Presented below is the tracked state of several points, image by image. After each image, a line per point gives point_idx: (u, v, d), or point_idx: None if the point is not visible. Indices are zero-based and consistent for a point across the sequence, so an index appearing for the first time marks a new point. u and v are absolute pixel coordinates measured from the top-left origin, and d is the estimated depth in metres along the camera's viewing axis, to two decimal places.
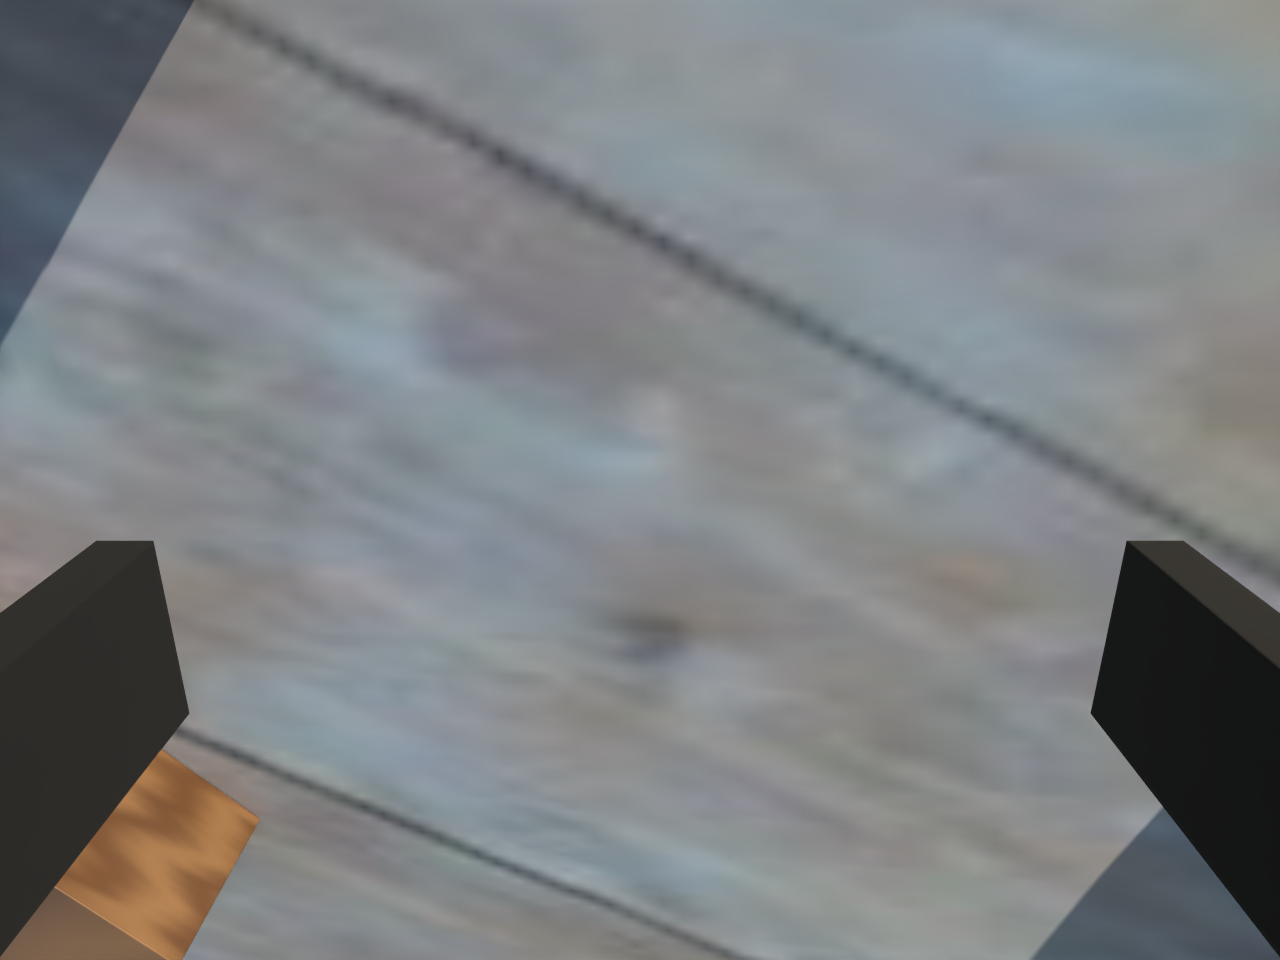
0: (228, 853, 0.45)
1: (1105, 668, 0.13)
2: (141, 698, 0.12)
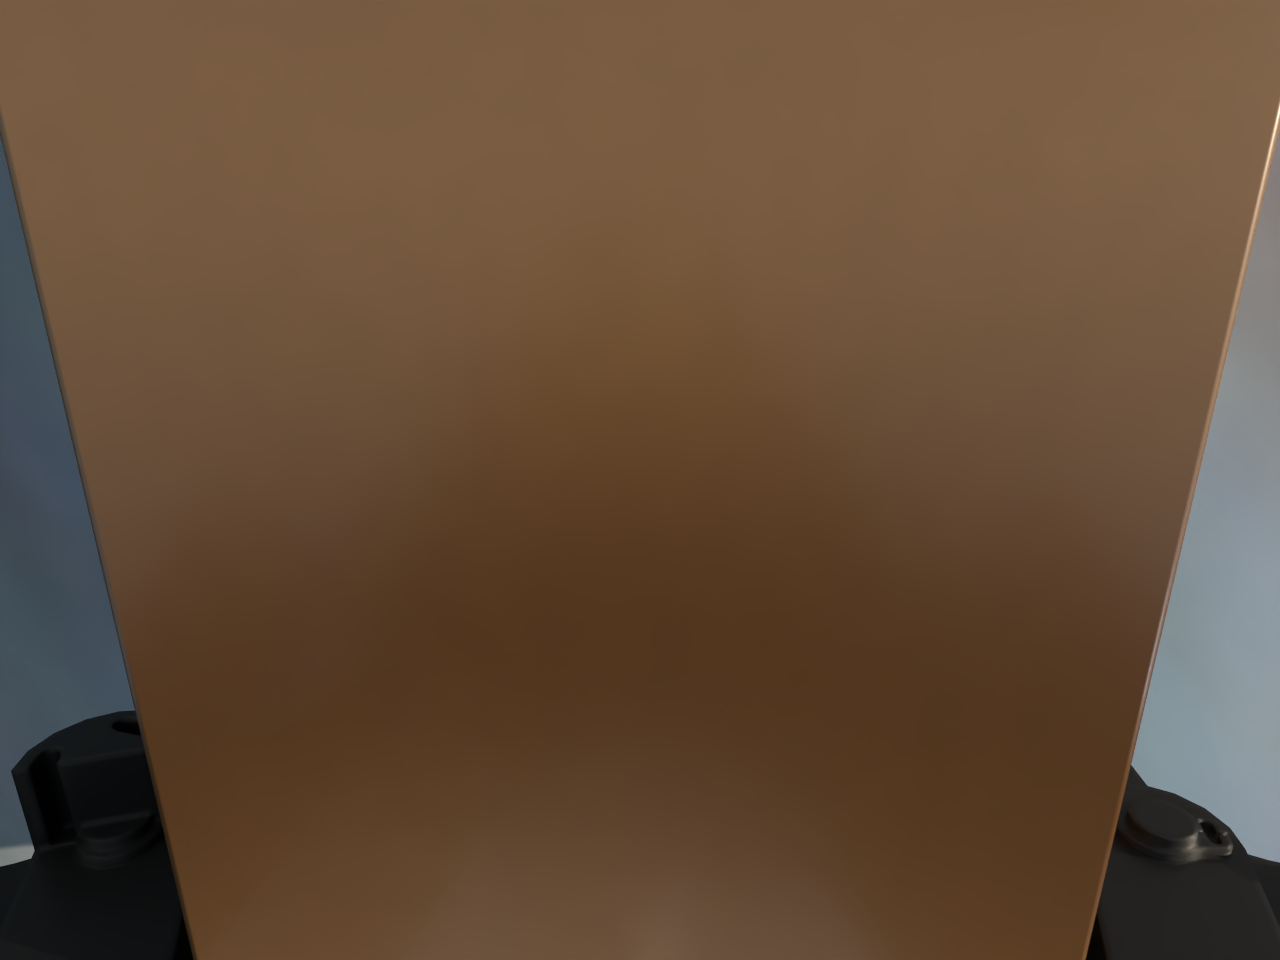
0: None
1: None
2: None
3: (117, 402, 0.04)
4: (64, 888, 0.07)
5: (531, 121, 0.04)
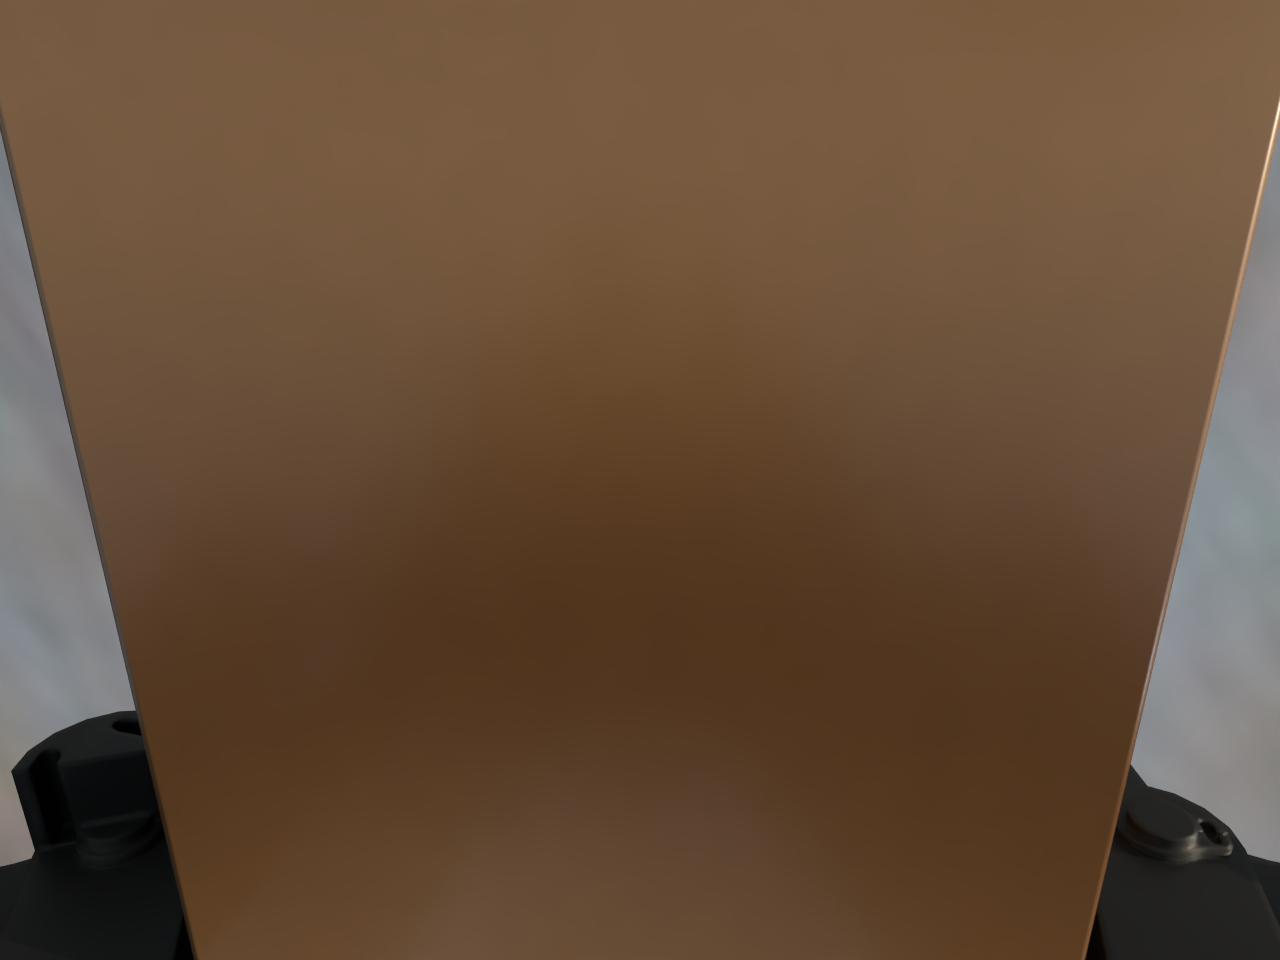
0: None
1: None
2: None
3: (117, 398, 0.04)
4: (64, 888, 0.07)
5: (531, 116, 0.04)
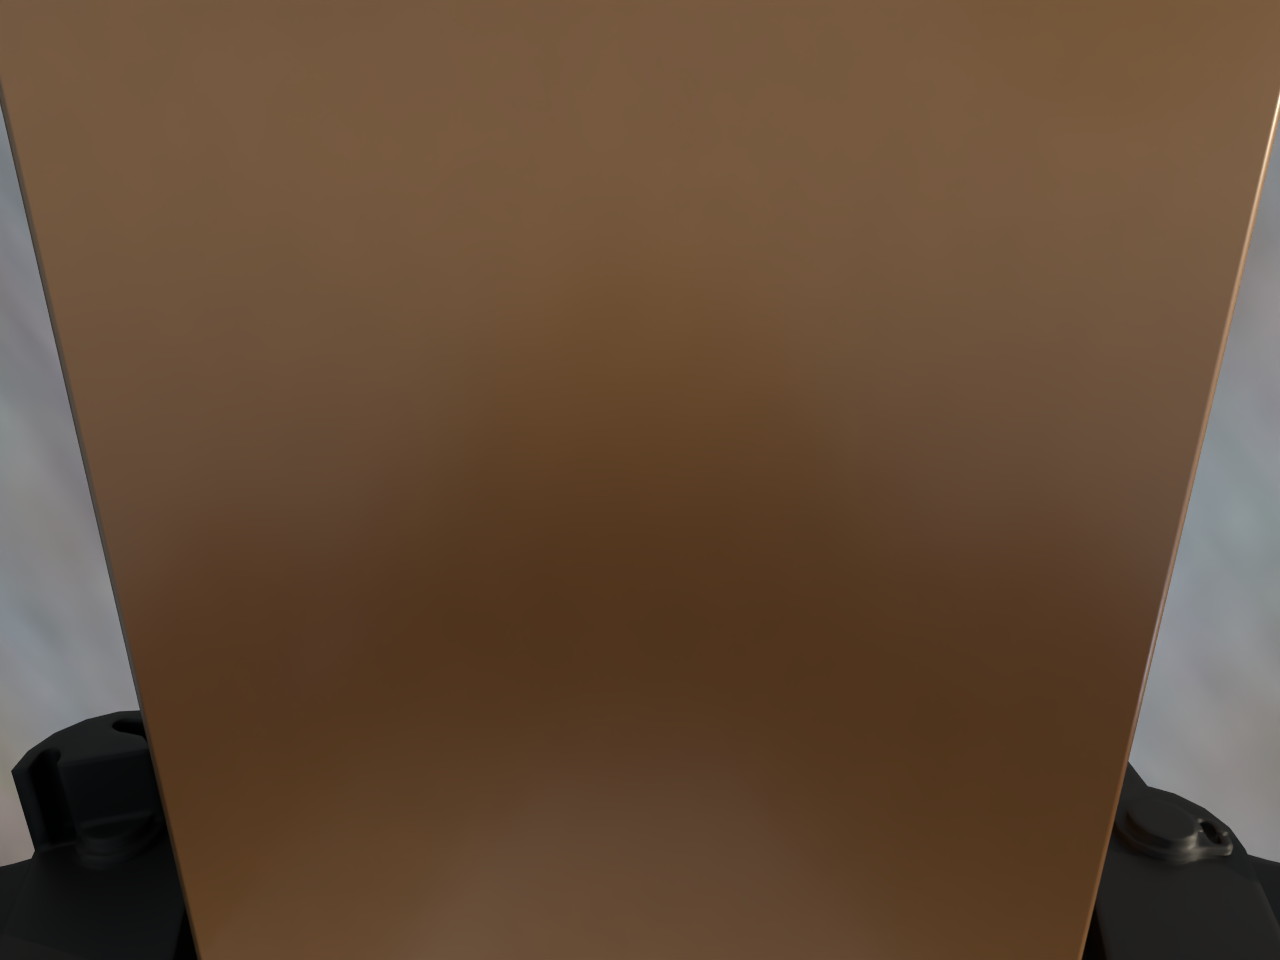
0: None
1: None
2: None
3: (121, 394, 0.04)
4: (64, 888, 0.07)
5: (534, 115, 0.04)
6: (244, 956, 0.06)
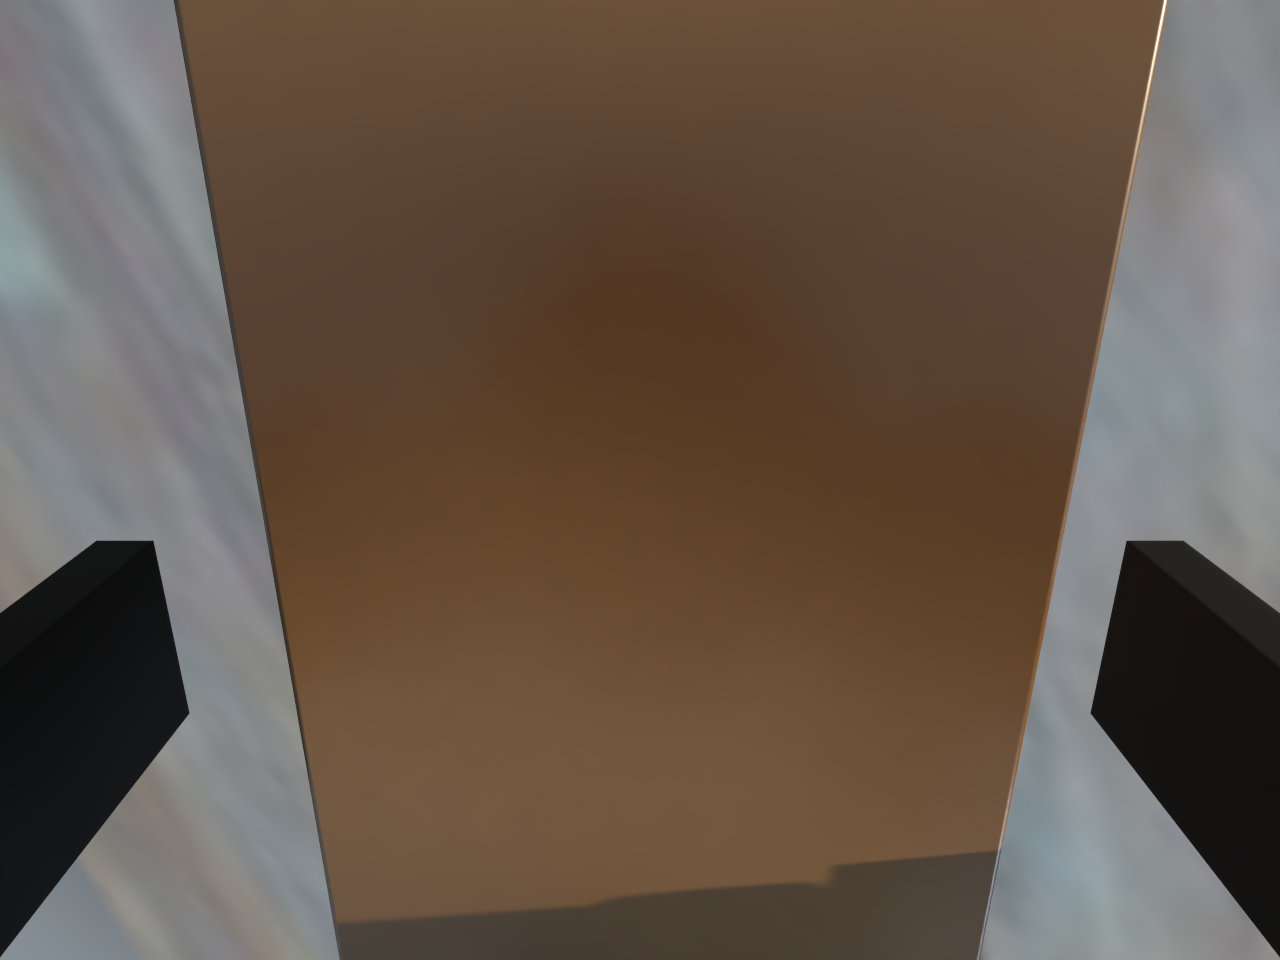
0: None
1: (1105, 668, 0.13)
2: (141, 698, 0.12)
3: (225, 22, 0.05)
4: None
5: None
6: (318, 586, 0.07)
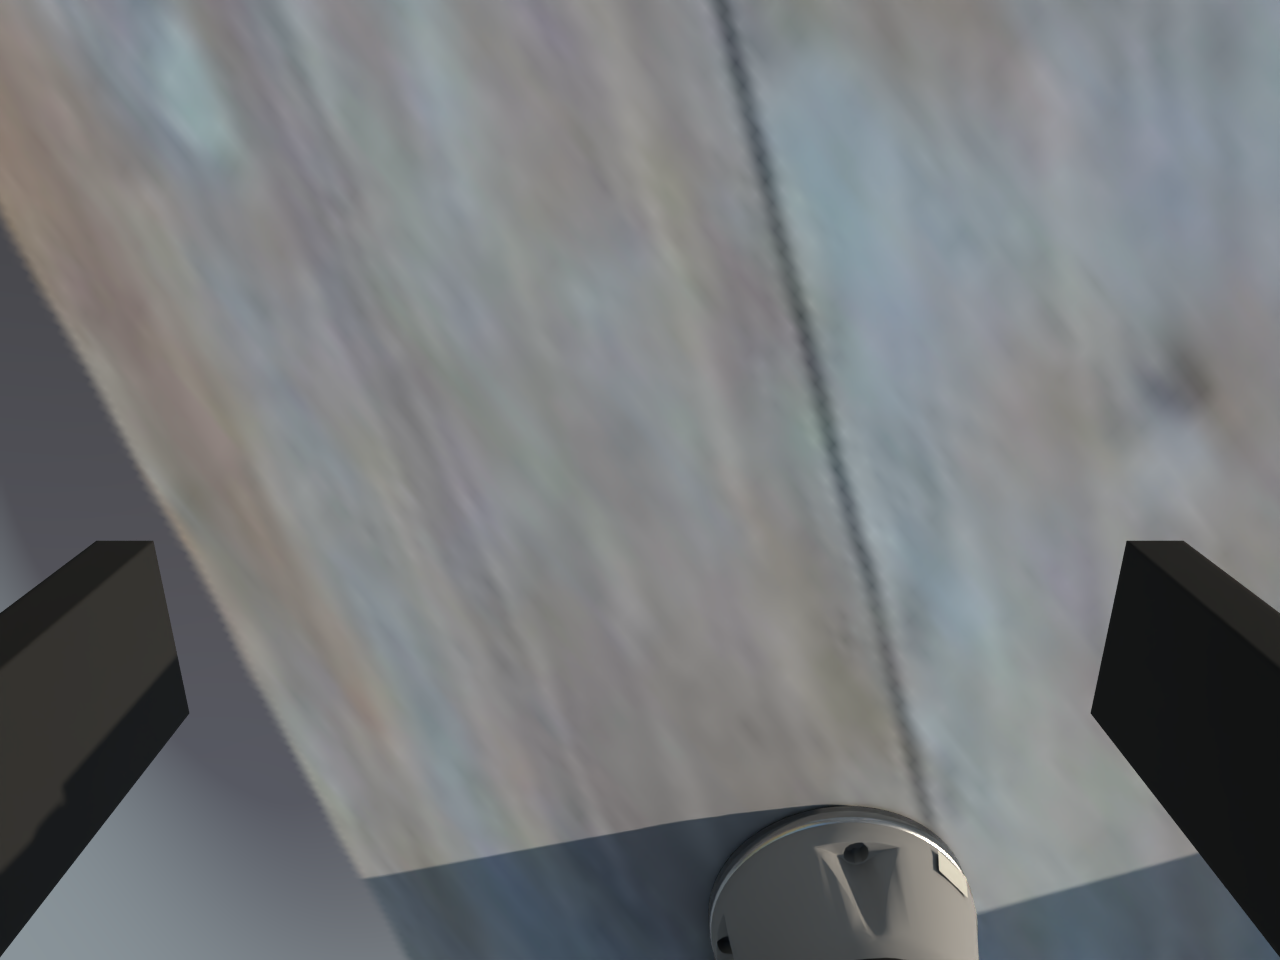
0: None
1: (1106, 668, 0.13)
2: (141, 698, 0.12)
3: None
4: None
5: None
6: None
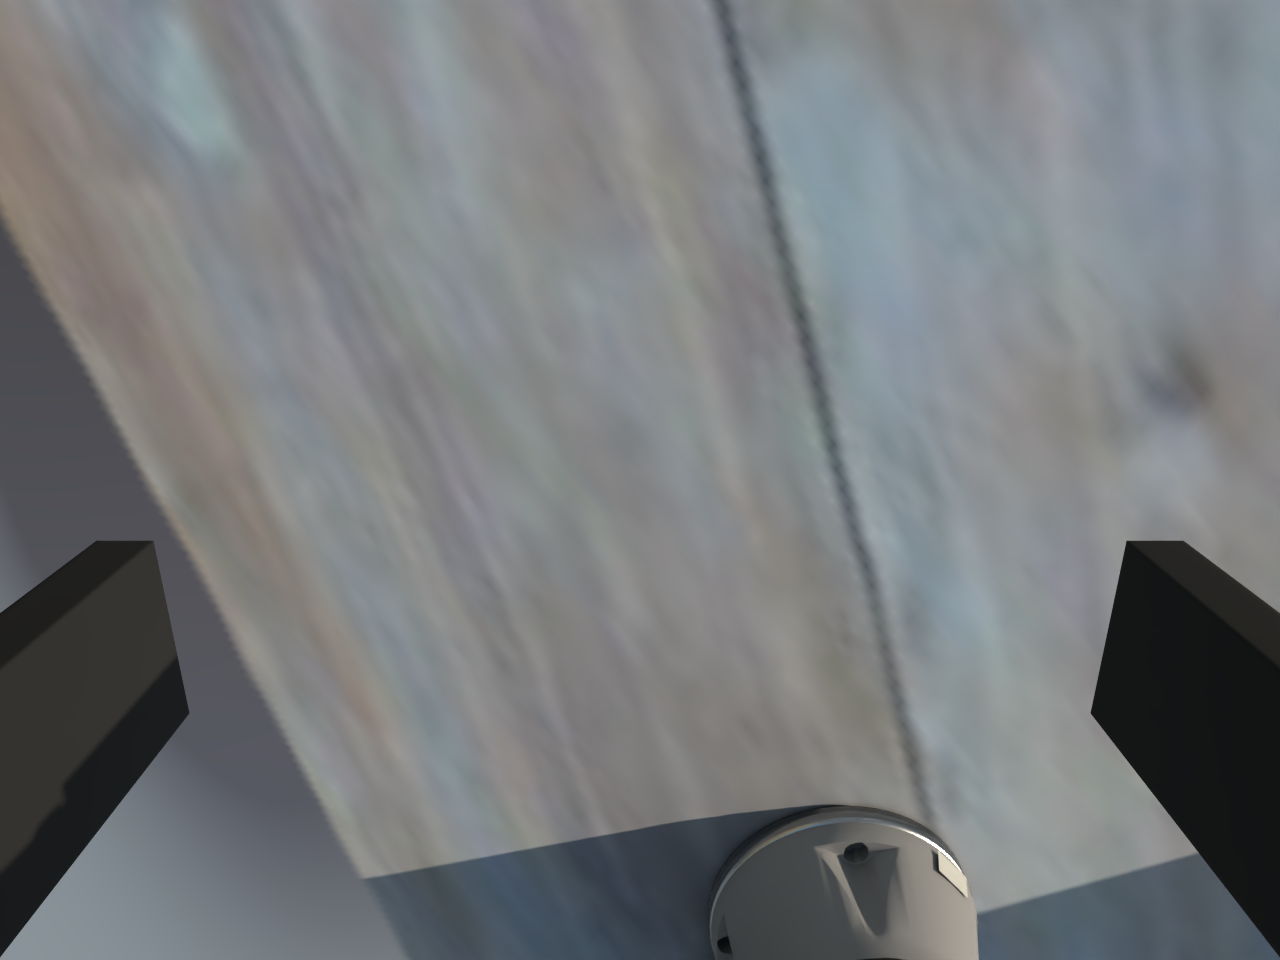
0: None
1: (1106, 668, 0.13)
2: (141, 698, 0.12)
3: None
4: None
5: None
6: None
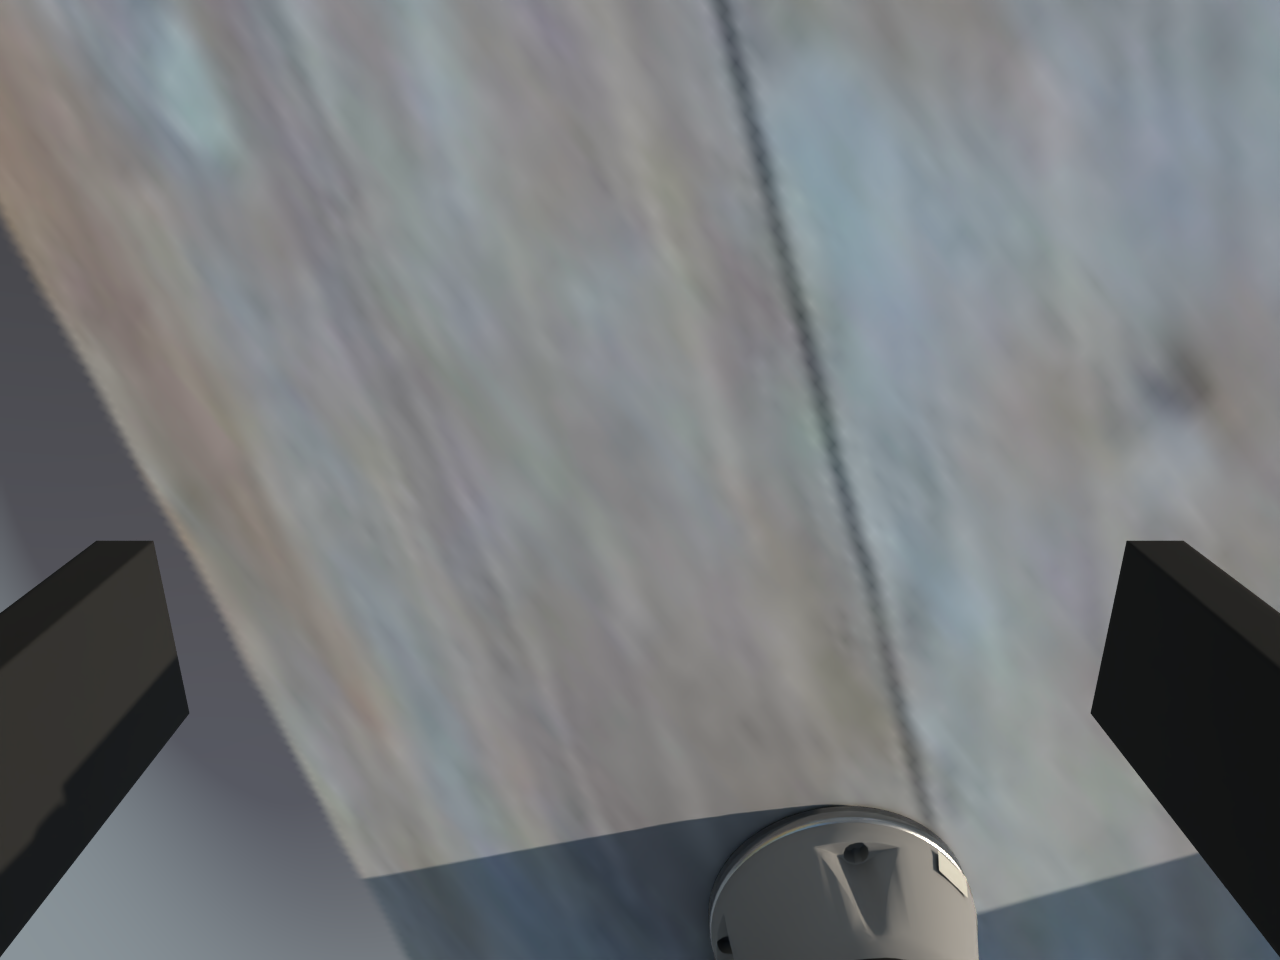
0: None
1: (1106, 668, 0.13)
2: (141, 698, 0.12)
3: None
4: None
5: None
6: None
